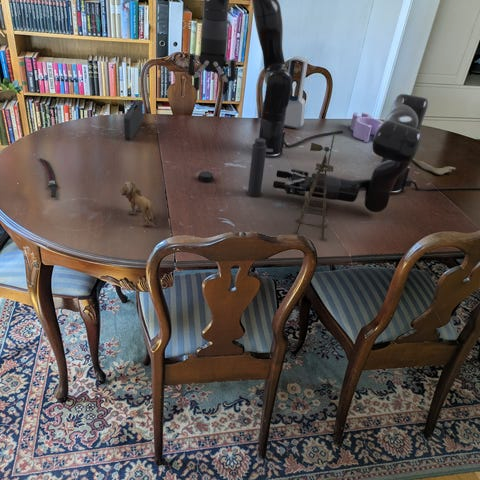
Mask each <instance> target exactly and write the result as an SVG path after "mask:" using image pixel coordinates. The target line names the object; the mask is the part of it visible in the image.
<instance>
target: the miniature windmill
mask: <svg viewBox="0 0 480 480" xmlns="http://www.w3.org/2000/svg"><path fill="white" fill-rule="evenodd" d="M334 140H335V133H334V134H332V139H331V144H330V147H329V146H322V144H318V143H315V142H311V144H310V149H309V151H310V152H322V151H324V155H323V159H322V160H321V162H320V163H319V162H317V163H315V171H316V170H317V171H316V173H317V174H316V178H314V182H313V185H312V186H311V190H310V192H307V197H306V198H305V202H304V203H303V206H302V208H301V210H300V214H299V216H298V219H297V222H298V223H297V224H298V225H297V227H296V230H295V233H294V234H295V235H298V233H299V231H300V228H301V225H304V226H311V227H315V228H321V240H324V237H325V236H324V235H325V228H326V218H327V214H326V208H327V207H326V206H327V199H326V189H327V187H326V180H327V175H328V174H327V172H328V173H330V172H331V173H332V172H334V165H331V164H330V162H331V157H332V156H331V155H332V151H333V148H334V147H333V145H334V142H335V141H334ZM328 152H329V154H328V158H327V153H328ZM319 175H324V178H319ZM318 179H321V180H324V187H323V186H317V185H316V183H317V180H318ZM315 187H320V188H324V193H318V192H313V191H314V188H315ZM313 193H315V194H321V195H324V197H323V198H317V197H312V194H313ZM311 200H313V201H319V202H323V204H322V208H321V207H316V206H310V205H309V204H310V202H311ZM308 208H309V209H312V210H313V209H314V210H319V211H322V213H318V212H313V211H307V209H308ZM305 214H310V215H311V214H312V215H315V216H316V215H317V216H321V217H322V220H321V221H322V222H321V225H318V224H312V223H307V222H303V220H304V217H305Z"/></svg>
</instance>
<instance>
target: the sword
mask: <svg viewBox="0 0 480 480" xmlns="http://www.w3.org/2000/svg"><path fill="white" fill-rule="evenodd" d="M40 161H41V162H42V163H43V165H44V166H45V169H46V173H47V176H48V185H47V188H50V198H56V197H57V189H56V188H57V187H59V185H58V184H57V183H56V180H55V176H54V172H53V169H52V167H51V164H50V163H49V161H48V160H46V159H43V158H40Z"/></svg>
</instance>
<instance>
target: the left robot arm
mask: <svg viewBox="0 0 480 480" xmlns="http://www.w3.org/2000/svg"><path fill="white" fill-rule="evenodd" d="M251 3H252V10H253V16H254V22H255V23H254V24H255V28H256V33H257V37H258V41H259V45H260V49H261V52H262V59H263V60H262V61H263V70H264V71H263V72H264V82H265V93H264V94H265V95H264V100H263V102H262V105H261V114H260V123H259V131H258V138H263V139H265V140H266V145H267V148H266V155H265V158H277V157H279V156H281V155H282V154H283V149H284V147H285V148H294V147H296V146H298V145H301V144H302V143H305V142H306V141H309V140H311V139H315V138H319V137H323V136H324V137H325V136H328V135H330V136H331V135H333V134H334V133H335V134H342V133H343V130H336V131H330V132H324V133H323V132H322V133H319V134H314V135H310V136H308V137H305V138H304V139H302V140H299V141H297V142H295V143H293V144H287V142H286V140H285V136H286V130H284V128H285V126H284V123H285V116H286V109H287V106H288V104H289V99H290V95H291V94H290V93H292V86H293V80H292V77H291V75H290V73H289V72H288V68H287V65H286V60H285V56H284V51H283V37H284V36H283V34H284V26H283V25H284V24H283V16H282V9H281V5H280V2H279V0H251ZM229 4H230V0H203V6H202V7H203V8H202V22H201V29H200V30H201V31H200V54H199V55H198V54H196V53H195V52H193V53H191V54H190V55H189V58H188V59H189V60H188V70H187V71H188V73H187V74H188V75H189V76H192V77H193V88H194V89H195V91H200V88H201V87H200V85H201V77H200V76H201V74H202V73H203V72H204V71H205V72H207V73H211V72H212V73H213V74H217V73H219V75H220V77H221V79H223V82H222V83H223V84H222V95H226V94H227V93H228V92H229V88H230V82H233V81H235V79H236V75H237V74H236V72H237V71H236V70H237V60H236V58H233V59H231V58H230V59H229V58H227V55H226V54H227V45H228V44H227V42H228V14H229V6H230V5H229ZM198 61H199V63H200V64H201V66H200V67H199V68H198V69H197V71H195V65H196V63H197V62H198ZM226 64H227V67H228V68H230V71H229V72H230V73H229V74H228V73H227V70H226V69H225V66H226Z"/></svg>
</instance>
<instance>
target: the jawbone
mask: <svg viewBox="0 0 480 480" xmlns="http://www.w3.org/2000/svg"><path fill="white" fill-rule="evenodd" d="M412 162H414V163H415V164H416V165H418V166H419V167H420V168H421V169H423V170H425V171H427V172H431V173H433V174H435V175H438V176H442V175H444V174H446V173H447V174H448V175H450V174H452V171H453V170H457V168H456V167H454V166H444V167H434V166H433V165H430V164H427V163H426V162H424V161H423V160H418V159H416V158H415V157H414V158H413V160H412Z"/></svg>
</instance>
